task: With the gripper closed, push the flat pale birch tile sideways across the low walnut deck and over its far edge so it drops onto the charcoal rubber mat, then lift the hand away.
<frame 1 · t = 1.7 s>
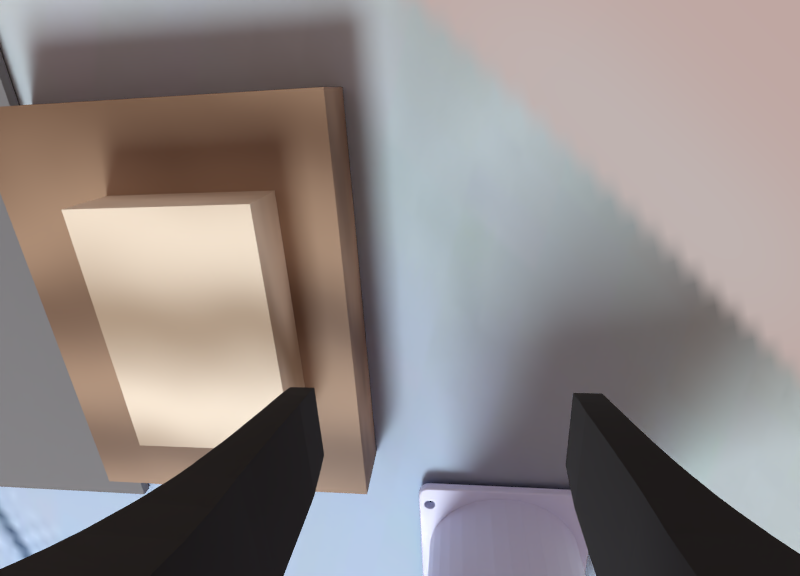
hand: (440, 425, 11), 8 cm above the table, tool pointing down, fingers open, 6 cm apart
deck: (223, 299, 20), on the table
tile: (215, 314, 17), point 2 cm above the table, touching deck
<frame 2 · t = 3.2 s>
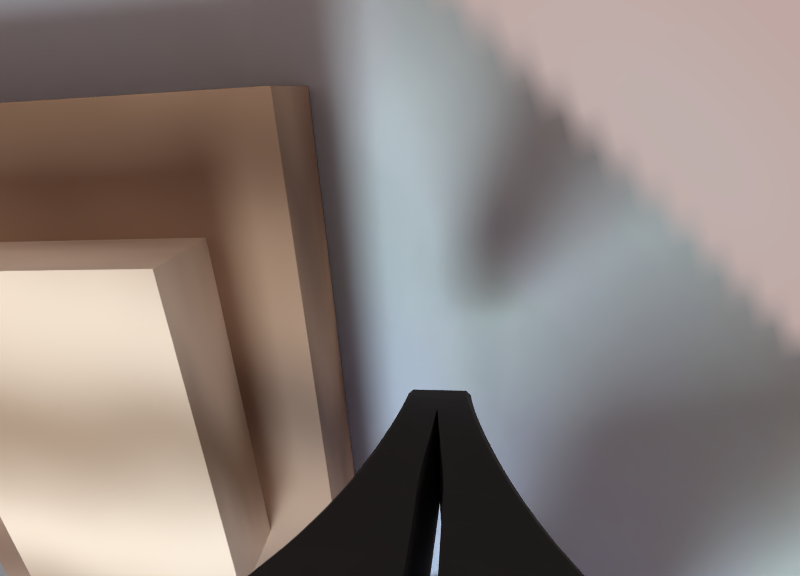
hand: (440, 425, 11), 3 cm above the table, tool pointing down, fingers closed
deck: (160, 367, 15), on the table
tile: (136, 402, 13), point 2 cm above the table, touching deck
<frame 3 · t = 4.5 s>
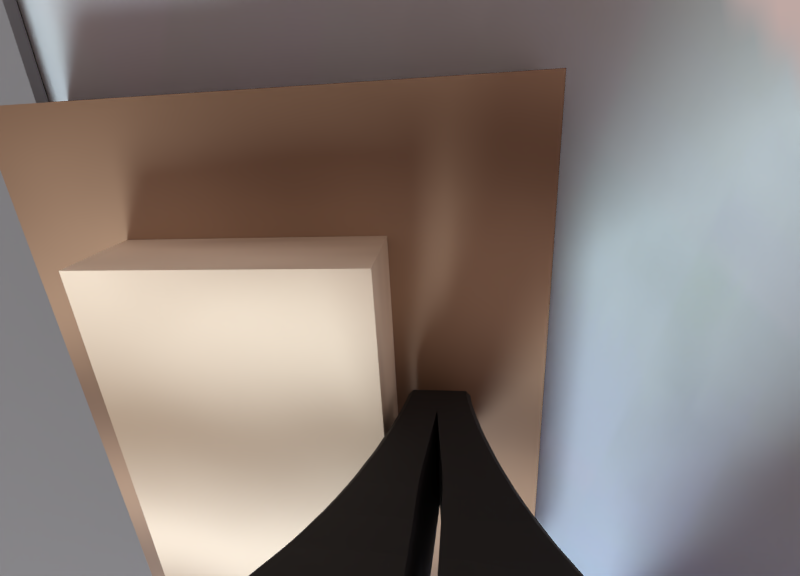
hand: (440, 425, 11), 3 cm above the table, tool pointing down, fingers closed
deck: (327, 370, 15), on the table
tile: (281, 406, 12), point 3 cm above the table, touching gripper
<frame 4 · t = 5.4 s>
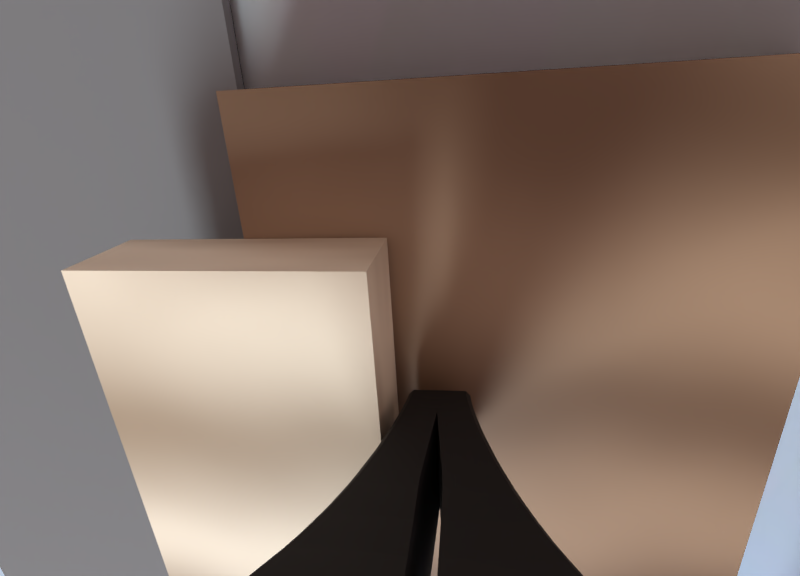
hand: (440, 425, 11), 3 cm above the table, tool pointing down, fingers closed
mat: (87, 366, 16), on the table
deck: (504, 372, 14), on the table
tile: (283, 407, 12), point 3 cm above the table, touching deck
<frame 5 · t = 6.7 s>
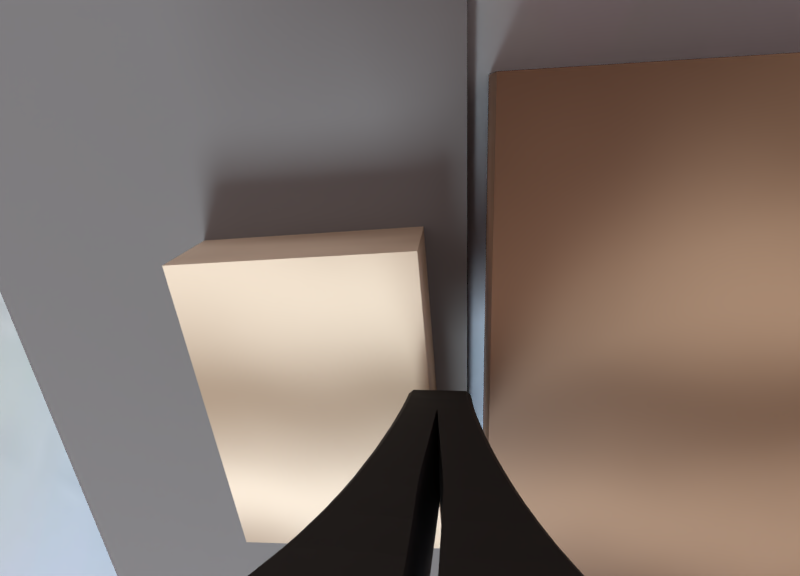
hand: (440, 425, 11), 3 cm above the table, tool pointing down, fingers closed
mat: (242, 368, 15), on the table
deck: (701, 375, 13), on the table
tile: (335, 378, 14), resting on mat
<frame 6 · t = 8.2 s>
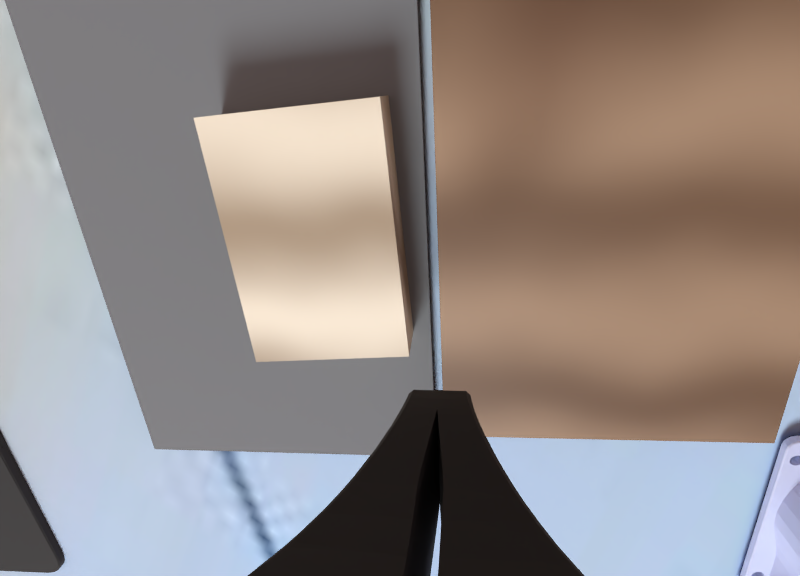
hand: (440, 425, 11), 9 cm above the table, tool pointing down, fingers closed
mat: (251, 228, 19), on the table
deck: (605, 216, 17), on the table
tile: (324, 230, 18), resting on mat
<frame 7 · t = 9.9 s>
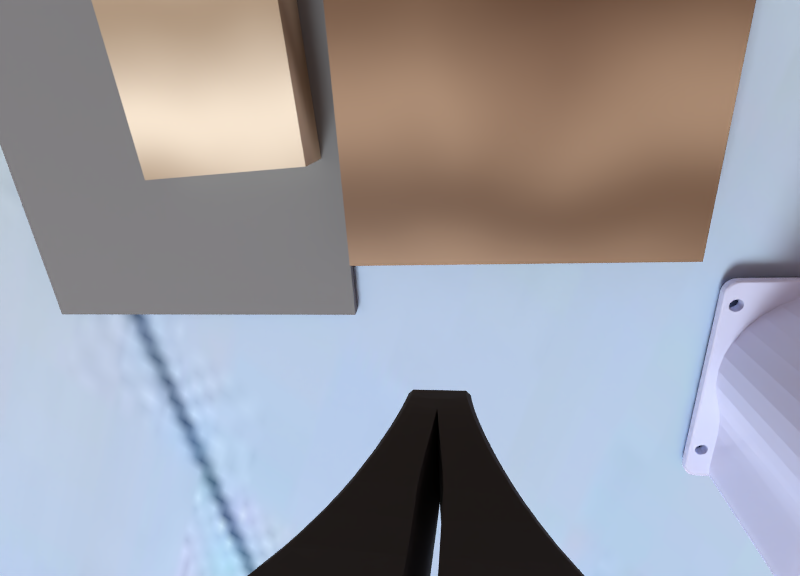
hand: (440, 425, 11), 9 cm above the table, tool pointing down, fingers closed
mat: (144, 40, 17), on the table
deck: (519, 11, 16), on the table
tile: (218, 34, 17), resting on mat
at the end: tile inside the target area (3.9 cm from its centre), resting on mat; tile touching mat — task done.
